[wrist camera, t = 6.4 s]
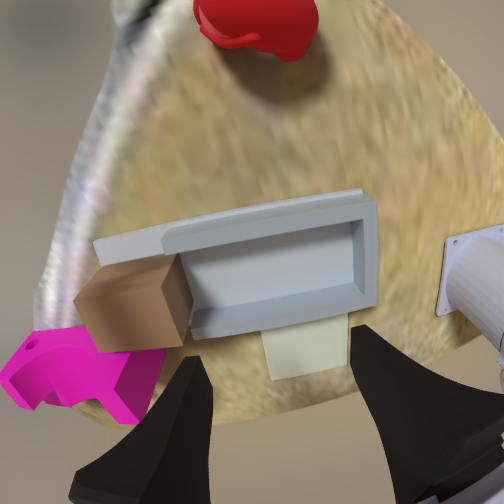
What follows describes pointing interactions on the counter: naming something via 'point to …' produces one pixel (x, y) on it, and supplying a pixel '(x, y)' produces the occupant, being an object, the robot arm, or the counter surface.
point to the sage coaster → (306, 347)
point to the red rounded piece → (259, 25)
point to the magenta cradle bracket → (81, 374)
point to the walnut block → (137, 304)
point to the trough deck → (267, 261)
